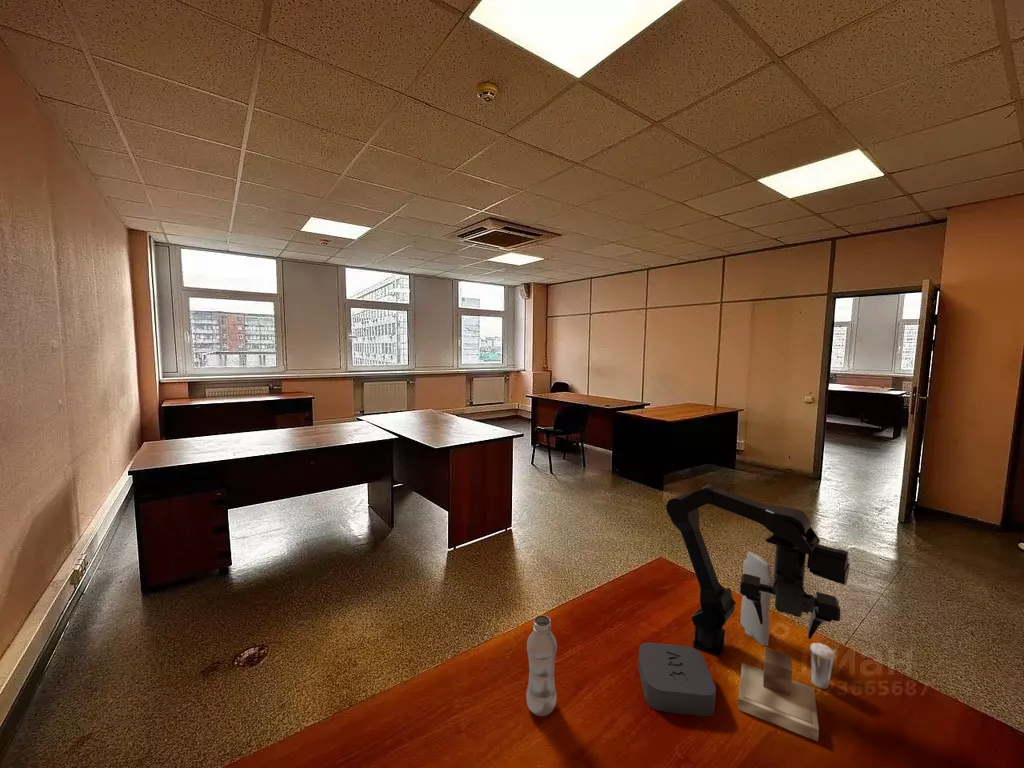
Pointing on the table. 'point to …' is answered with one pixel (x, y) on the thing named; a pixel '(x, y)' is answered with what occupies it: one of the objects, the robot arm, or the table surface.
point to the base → (779, 703)
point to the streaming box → (676, 679)
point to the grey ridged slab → (748, 611)
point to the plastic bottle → (541, 667)
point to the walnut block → (777, 672)
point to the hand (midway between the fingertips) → (784, 630)
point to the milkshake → (821, 664)
